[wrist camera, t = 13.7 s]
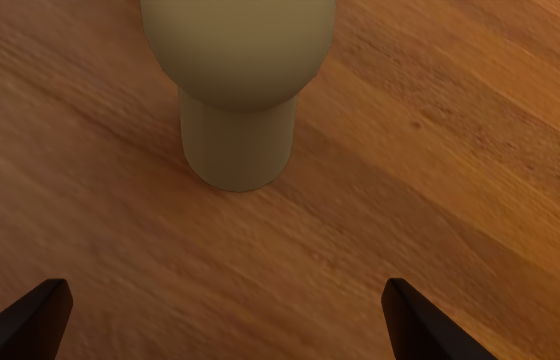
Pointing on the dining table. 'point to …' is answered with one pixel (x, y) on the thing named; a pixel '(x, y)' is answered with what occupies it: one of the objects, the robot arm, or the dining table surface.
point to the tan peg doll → (238, 78)
